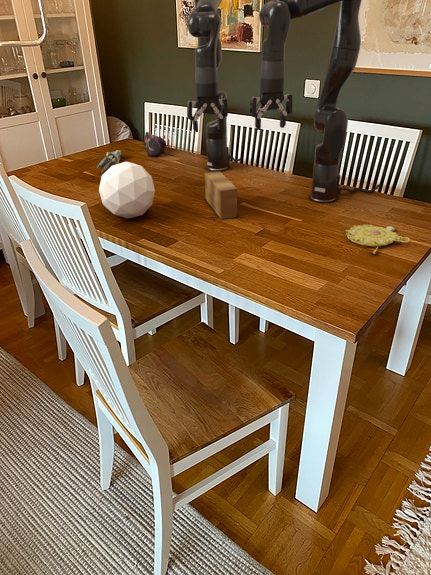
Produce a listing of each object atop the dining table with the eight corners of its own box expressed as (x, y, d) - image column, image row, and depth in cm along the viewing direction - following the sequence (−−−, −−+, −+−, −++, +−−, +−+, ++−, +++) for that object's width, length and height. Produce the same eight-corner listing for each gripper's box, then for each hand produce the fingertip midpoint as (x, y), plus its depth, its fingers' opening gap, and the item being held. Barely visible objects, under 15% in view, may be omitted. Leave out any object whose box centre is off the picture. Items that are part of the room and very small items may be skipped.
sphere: (119, 231, 167) (91, 184, 164) (165, 204, 169) (137, 158, 167) (116, 226, 148) (83, 173, 146) (167, 196, 150) (136, 144, 148)
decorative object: (355, 216, 152) (417, 225, 142) (354, 223, 153) (416, 232, 143) (334, 239, 137) (402, 251, 127) (334, 247, 138) (401, 259, 128)
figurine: (101, 154, 197) (119, 141, 223) (91, 167, 200) (110, 152, 227) (114, 165, 199) (130, 151, 225) (103, 178, 203) (121, 162, 229)
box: (205, 199, 174) (204, 173, 168) (220, 197, 175) (219, 171, 169) (220, 219, 157) (220, 190, 152) (237, 216, 159) (237, 188, 153)
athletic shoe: (152, 146, 217) (175, 145, 222) (140, 122, 229) (162, 121, 233) (150, 166, 226) (172, 164, 230) (139, 141, 238) (160, 140, 242)
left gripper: (188, 84, 145) (191, 135, 153) (229, 81, 148) (230, 131, 157) (183, 81, 151) (186, 130, 160) (223, 78, 154) (223, 126, 163)
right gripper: (255, 78, 136) (254, 133, 145) (298, 75, 139) (294, 129, 148) (247, 76, 142) (246, 128, 151) (288, 73, 146) (285, 124, 154)
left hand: (208, 130), depth 158 cm, fingers open, 8 cm apart
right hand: (270, 128), depth 150 cm, fingers open, 8 cm apart
